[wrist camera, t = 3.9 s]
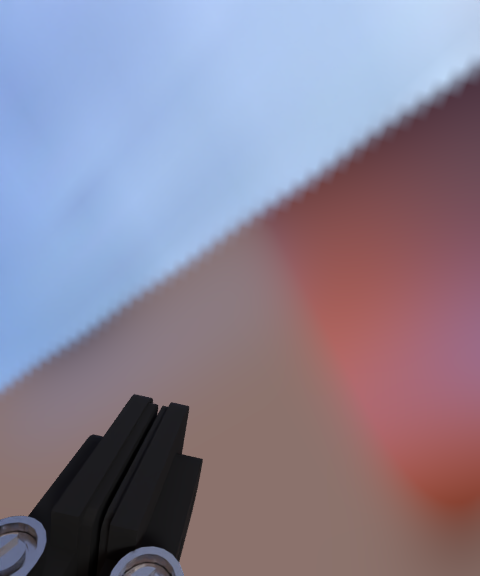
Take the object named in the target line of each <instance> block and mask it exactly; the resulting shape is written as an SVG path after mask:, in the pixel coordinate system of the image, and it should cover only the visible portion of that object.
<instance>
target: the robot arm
mask: <svg viewBox="0 0 480 576" xmlns="http://www.w3.org/2000/svg"><path fill="white" fill-rule="evenodd" d="M157 412H158V405H157V404H153V399H152V398H149V397H145V396H139V395H135V394H134V395H133V396H132V397H131V399H130V400H129V401H128V403H127V404H126V405H125V407H124V408H123V410H122V411H121V413H120V414H119V415H118V417H117V418H116V420H115V421H114V423H113V424H112V425H111V427H110V428H109V430H108V431H107V432H106V434H105V435H104V437H102V436H98V435H91V436H90V437H89V438H88V439H87V440H86V441H85V443H84V444H83V445H82V447H81V448H80V449H79V450H78V452H77V453H76V454H75V456H74V457H73V458H72V460H71V461H70V462H69V464H68V465H67V466H66V468H65V469H64V470H63V471H62V473H61V474H60V475H59V477H58V478H57V479H56V481H55V482H54V483H53V484H52V486H51V487H50V488H49V490H48V491H47V492H46V494H45V495H44V496H43V498H42V499H41V500H40V502H39V503H38V504H37V505H36V507H35V508H34V509H33V511H32V512H31V513H30V515H29V516H28V517H27V516H12V517H8V518H5V519H1V520H0V576H184V574H183V572H182V569H181V566H180V563H179V560H180V557H181V553H182V549H183V545H184V541H185V537H186V533H187V529H188V525H189V522H190V518H191V514H192V510H193V505H194V501H195V497H196V492H197V488H198V482H199V477H200V472H201V467H202V460H203V459H200V458H196V457H191V456H186V455H182V449H183V443H184V437H185V431H186V425H187V419H188V413H189V406H185V405H181V404H177V403H170V405H169V407H166V406H162V408H161V410H160V412H159V413H158V415H157Z"/></svg>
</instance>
